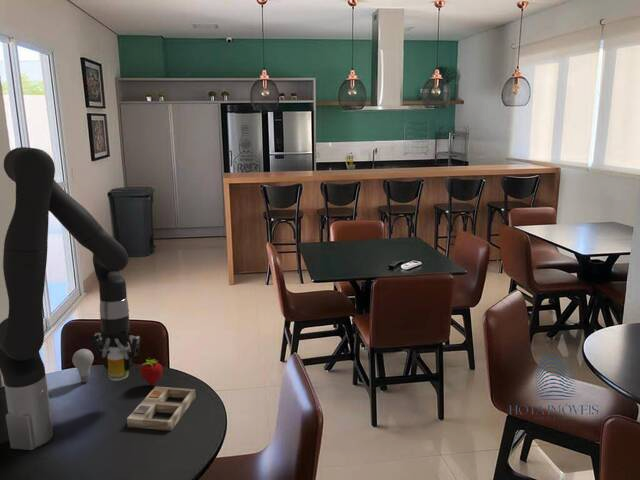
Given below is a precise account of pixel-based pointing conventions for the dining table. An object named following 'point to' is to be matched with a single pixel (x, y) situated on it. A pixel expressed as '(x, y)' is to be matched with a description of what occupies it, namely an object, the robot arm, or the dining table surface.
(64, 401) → the dining table surface
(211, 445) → the dining table surface
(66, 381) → the dining table surface
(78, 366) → the lightbulb
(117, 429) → the dining table surface
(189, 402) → the socket plate
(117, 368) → the supplement bottle
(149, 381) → the strawberry
